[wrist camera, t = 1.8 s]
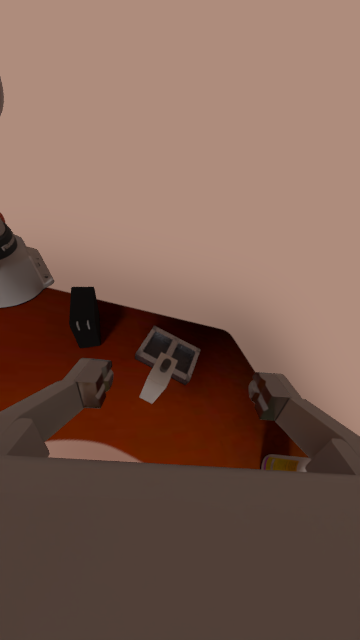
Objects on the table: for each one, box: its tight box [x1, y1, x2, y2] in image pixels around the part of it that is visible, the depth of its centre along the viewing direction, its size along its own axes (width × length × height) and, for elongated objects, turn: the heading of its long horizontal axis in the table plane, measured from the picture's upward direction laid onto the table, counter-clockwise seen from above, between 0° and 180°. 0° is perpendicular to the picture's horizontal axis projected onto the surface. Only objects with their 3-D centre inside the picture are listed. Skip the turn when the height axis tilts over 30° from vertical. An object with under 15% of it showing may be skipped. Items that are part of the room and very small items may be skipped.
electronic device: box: [69, 287, 101, 348], centre depth 35 cm, size 4×10×10 cm, turn 18°
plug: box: [140, 352, 178, 404], centre depth 28 cm, size 4×3×17 cm, turn 158°
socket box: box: [135, 326, 201, 385], centre depth 39 cm, size 9×14×3 cm, turn 68°
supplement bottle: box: [261, 454, 311, 472], centre depth 27 cm, size 7×7×13 cm
